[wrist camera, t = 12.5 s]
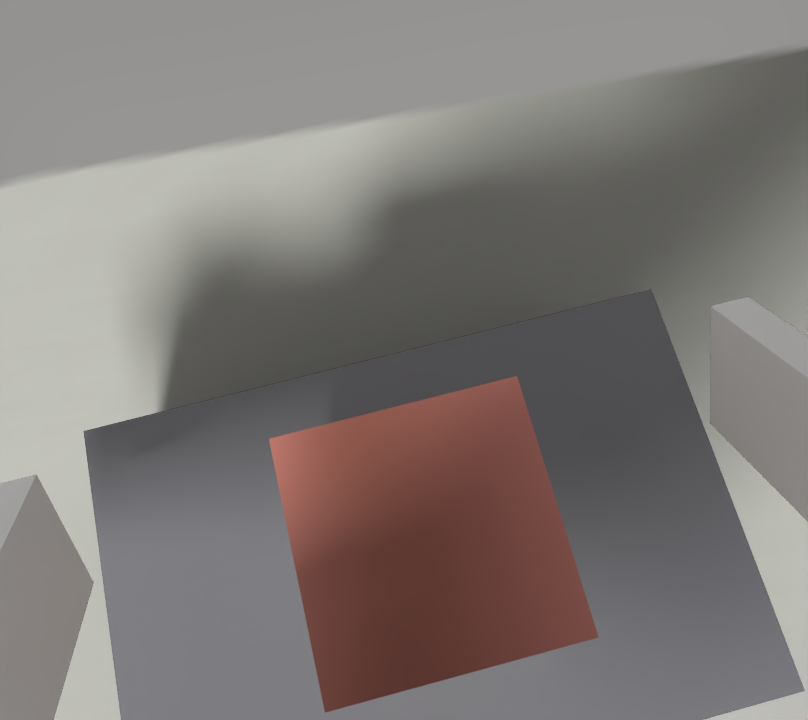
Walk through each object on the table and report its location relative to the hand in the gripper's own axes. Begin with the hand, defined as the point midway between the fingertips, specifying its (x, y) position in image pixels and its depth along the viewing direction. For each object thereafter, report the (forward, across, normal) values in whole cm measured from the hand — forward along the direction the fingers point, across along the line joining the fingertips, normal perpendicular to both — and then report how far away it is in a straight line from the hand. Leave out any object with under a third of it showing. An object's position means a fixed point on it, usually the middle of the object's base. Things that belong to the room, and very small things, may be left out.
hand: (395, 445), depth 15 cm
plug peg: (+5, 0, -8) cm, 9 cm away
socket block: (+5, 0, -8) cm, 9 cm away
